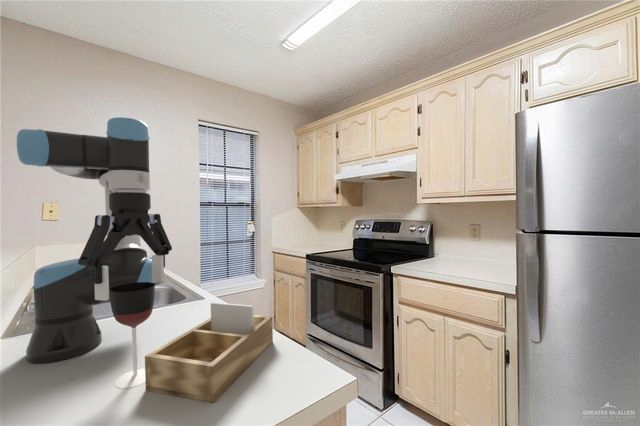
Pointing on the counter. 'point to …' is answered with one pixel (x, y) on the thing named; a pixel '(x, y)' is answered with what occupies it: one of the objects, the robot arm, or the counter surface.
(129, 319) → the wineglass
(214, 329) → the white flat panel
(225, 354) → the wooden divided tray
